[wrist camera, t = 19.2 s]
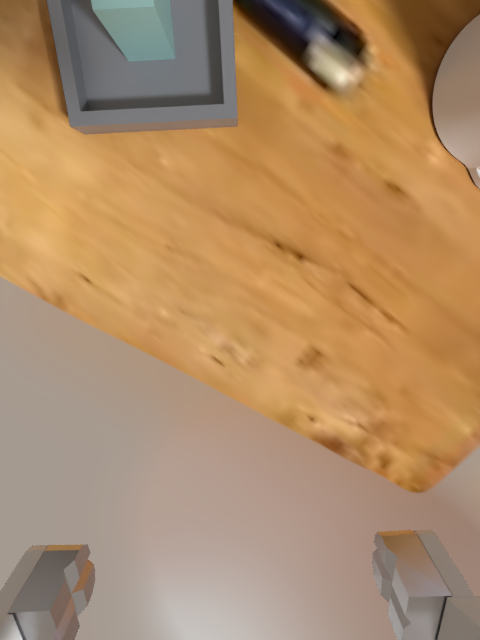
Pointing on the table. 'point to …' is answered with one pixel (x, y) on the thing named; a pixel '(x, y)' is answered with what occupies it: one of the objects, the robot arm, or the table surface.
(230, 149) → the table surface
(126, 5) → the sage block
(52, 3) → the charcoal tray
